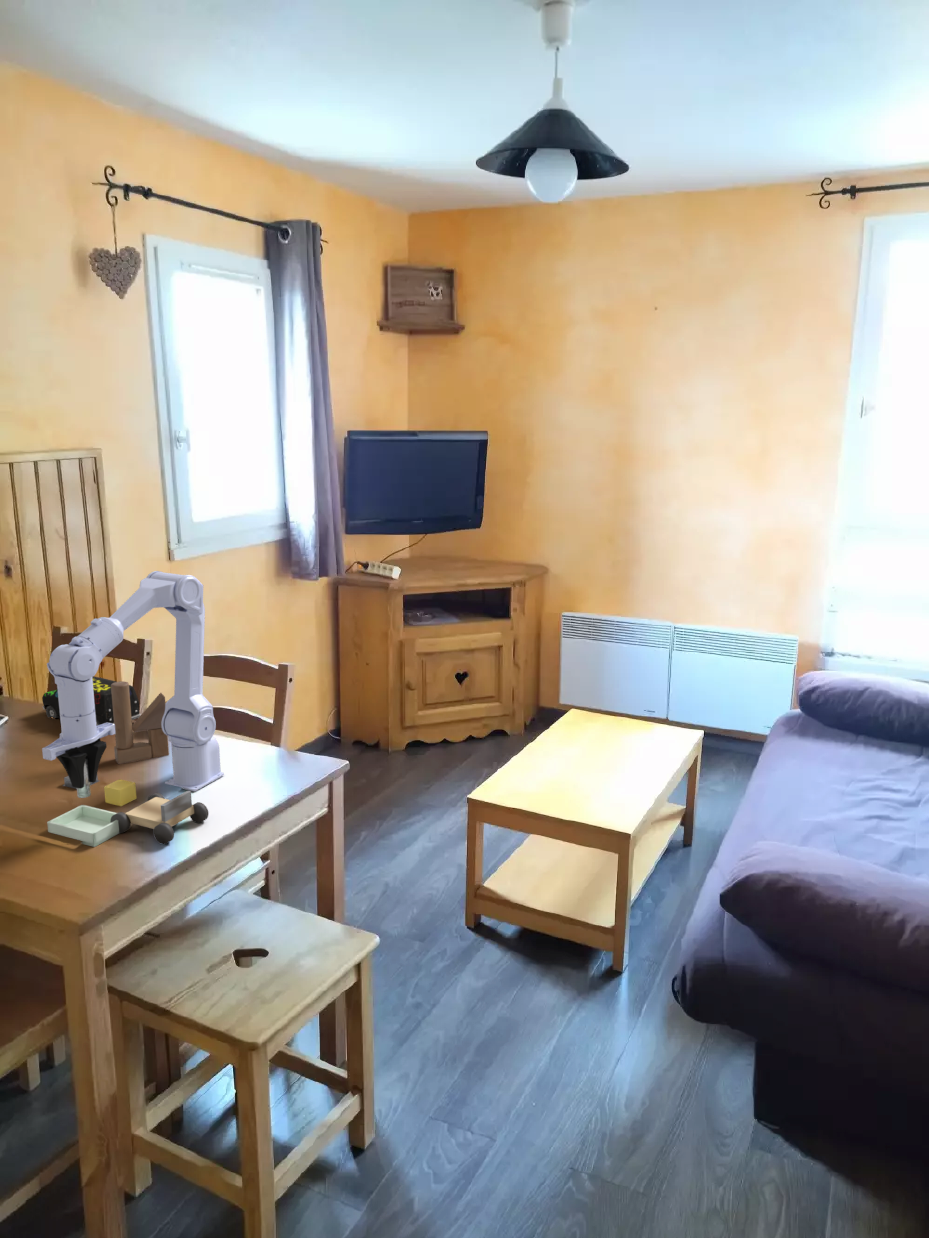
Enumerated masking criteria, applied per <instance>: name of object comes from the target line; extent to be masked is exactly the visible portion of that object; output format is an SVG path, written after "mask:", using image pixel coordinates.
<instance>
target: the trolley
mask: <svg viewBox="0 0 929 1238" xmlns="http://www.w3.org/2000/svg"><path fill="white" fill-rule="evenodd" d="M192 802H193V801H192V791H190V790H186V791H184V792H182V793H181V794H179V795H177V796H175V797H174V798H172V799H168V798H165V796H164V795H163V794H162V793H159V792H154V793H153V794H151V795H149V796H148V797H147V800H146V801H145V802H144V803H142V804H139V805H138V806H136V807H134V808H132V809H131V810H129V811H127V812H123V811H118V812H116V813H117V814H115V815H113V816H112V817H111V822H113V821H115V820H118V824H119V834H123V833H125V832H126V831H128V830H129V829H130V828H131V825H132V824H133V825H136V826H141V827H144V828H149V829H153V831H152V832H153V837H154V840H156V841H157V842H158V844H160V845H167V844H168V843H170V842H171V841H173V839H174V837H175V831H174V828H173V827H174V826H176V825H178V824H179V823H180V822H182V821H183V820H186V819H188V818H190V819H191V820H192V821H193V822H194V823H196V824H201V823H203V822H204V821H206V820H207V819H208V818H209V809H208V808H207V805H205V804H204V803H203V802H196V803H193V804H192Z"/></svg>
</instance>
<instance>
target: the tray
mask: <svg viewBox="0 0 929 1238" xmlns="http://www.w3.org/2000/svg"><path fill="white" fill-rule="evenodd" d="M117 813H118V812H115V811H110V810H106V809H101V808H98V807H94V806H90V805H86V804H81V805H78V806H77V807H75V808H73V809H71V810H69V811H66V812H65V813H63V814H60V815H59V816H57V817H54V818H52V819H51V820H49V821H47V822H46V824H47V832H48V833H51V834H53V835H54V834H55V835H58V836H62V837H66V838H70V839H74V840H77V841H81V842H80V844H81V845H86V846H89V847H94V848H96V847H97V846H98V845H100V844H102V843H104V842H106V841H108V840H110V839H112V838H113V837H116V836H117V835H118V834H120V833H119V824H118V820H115V821H113V822H111V817H112V816H113V815H115V814H117Z"/></svg>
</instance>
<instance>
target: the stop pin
mask: <svg viewBox="0 0 929 1238" xmlns="http://www.w3.org/2000/svg"><path fill="white" fill-rule="evenodd" d="M76 793H77V798H79V799H85V798H89V797H91V794H92V793H91V785H90V780H89V769H88V758H87V757H86V759H85V764H84V787H83V788H77V789H76Z"/></svg>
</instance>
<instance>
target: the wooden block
mask: <svg viewBox="0 0 929 1238" xmlns="http://www.w3.org/2000/svg"><path fill="white" fill-rule="evenodd" d="M129 685H130V684H129V682H128V681H125V680H123V681H116V682H115V683H112V684H111V692H112V704H113V716H114V724H115V733H116V734H114V736H115V737H114V739H115V746H113V750H114V751H113V752H114V760H115V762H116V763H117V765H124V764H129V763H135V762H139V761H146V760H150V759H156V758H162V757H167V756H169V755H170V750H169V747H170V746H169V738H168V736H167V735H166V734H165V733H164V732H163V730H162V726H161V722H162V718H163V715H164V712H165V702H166V696H165V695H164V694H163V692H160V693H159V694H158V695H157V696H156V697H155V698H154V699H153V701H152V702H151V703H150V705H148V707H147V708H146V709H145V710H144V711H143V712H142V714H141V715H140V717H139V718H136V719H135V722H134V723H133V722H132V721H133V720H132V719H131V706H130V693H129ZM145 731H147V740H148V742H146V741H145V742H143V741H137V742H136V741H135V742H134V734H133V733H138V732H145Z"/></svg>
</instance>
